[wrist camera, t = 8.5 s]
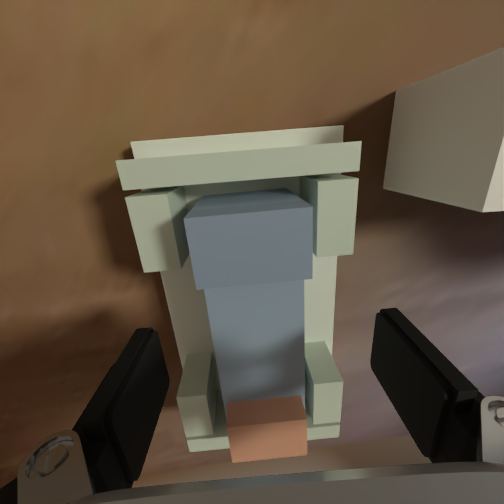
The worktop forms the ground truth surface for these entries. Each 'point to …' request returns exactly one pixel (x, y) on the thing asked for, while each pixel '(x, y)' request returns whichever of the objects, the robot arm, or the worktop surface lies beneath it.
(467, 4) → the worktop surface
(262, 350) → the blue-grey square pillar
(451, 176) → the block
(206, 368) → the jig
